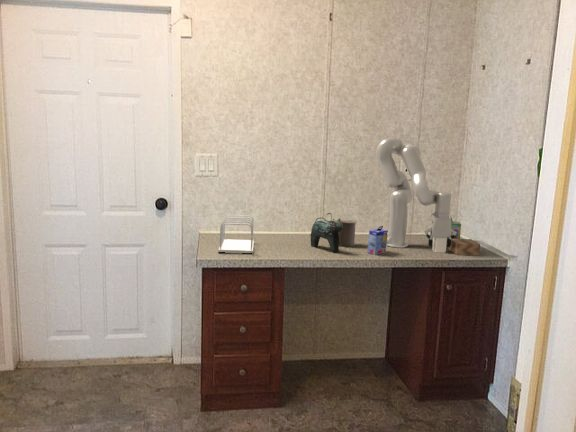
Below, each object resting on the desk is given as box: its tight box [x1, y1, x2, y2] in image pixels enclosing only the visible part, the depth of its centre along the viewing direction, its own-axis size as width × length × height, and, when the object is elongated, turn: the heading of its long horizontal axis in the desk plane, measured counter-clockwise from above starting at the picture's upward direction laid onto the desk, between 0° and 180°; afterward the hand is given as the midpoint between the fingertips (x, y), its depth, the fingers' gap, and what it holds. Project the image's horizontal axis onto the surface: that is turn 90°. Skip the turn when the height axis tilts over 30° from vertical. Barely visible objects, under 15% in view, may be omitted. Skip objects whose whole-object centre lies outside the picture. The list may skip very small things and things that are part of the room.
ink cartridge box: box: [367, 225, 389, 256], centre depth 262 cm, size 10×6×14 cm, turn 136°
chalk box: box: [447, 215, 462, 239], centre depth 296 cm, size 9×9×15 cm
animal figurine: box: [310, 212, 343, 254], centre depth 265 cm, size 20×6×20 cm, turn 41°
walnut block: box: [448, 238, 481, 256], centre depth 270 cm, size 12×12×6 cm
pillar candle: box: [338, 219, 356, 248], centre depth 277 cm, size 10×10×15 cm
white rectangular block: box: [431, 237, 447, 254], centre depth 270 cm, size 6×6×9 cm
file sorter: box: [217, 214, 255, 255], centre depth 263 cm, size 25×17×16 cm
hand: (439, 246), depth 271 cm, fingers open, 9 cm apart
